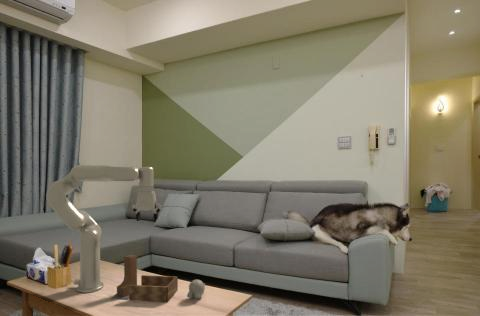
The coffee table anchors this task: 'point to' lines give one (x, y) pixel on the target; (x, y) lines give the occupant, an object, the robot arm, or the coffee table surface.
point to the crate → (154, 289)
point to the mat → (120, 297)
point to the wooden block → (128, 275)
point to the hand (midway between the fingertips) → (147, 220)
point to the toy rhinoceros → (196, 289)
